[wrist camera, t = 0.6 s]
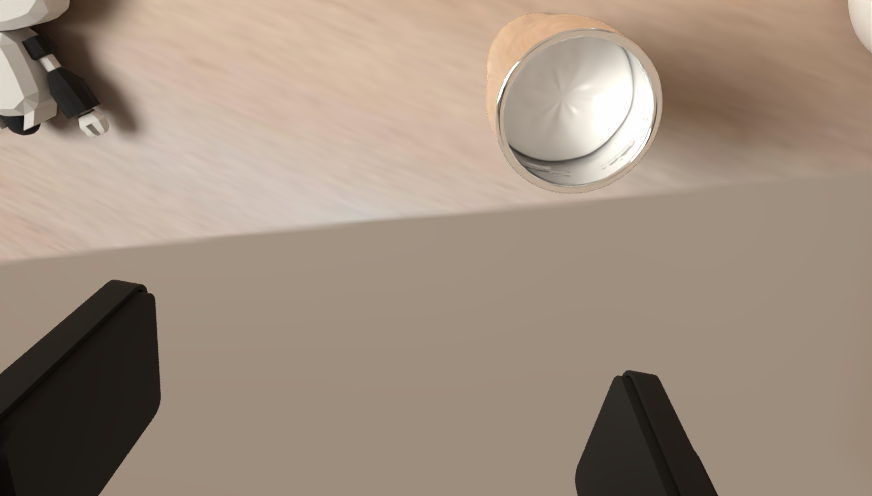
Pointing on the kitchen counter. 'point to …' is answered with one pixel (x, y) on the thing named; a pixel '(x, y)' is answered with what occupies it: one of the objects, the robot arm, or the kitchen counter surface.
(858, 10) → the flower in vase
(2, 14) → the robot toy
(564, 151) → the beer glass
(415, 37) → the kitchen counter surface
